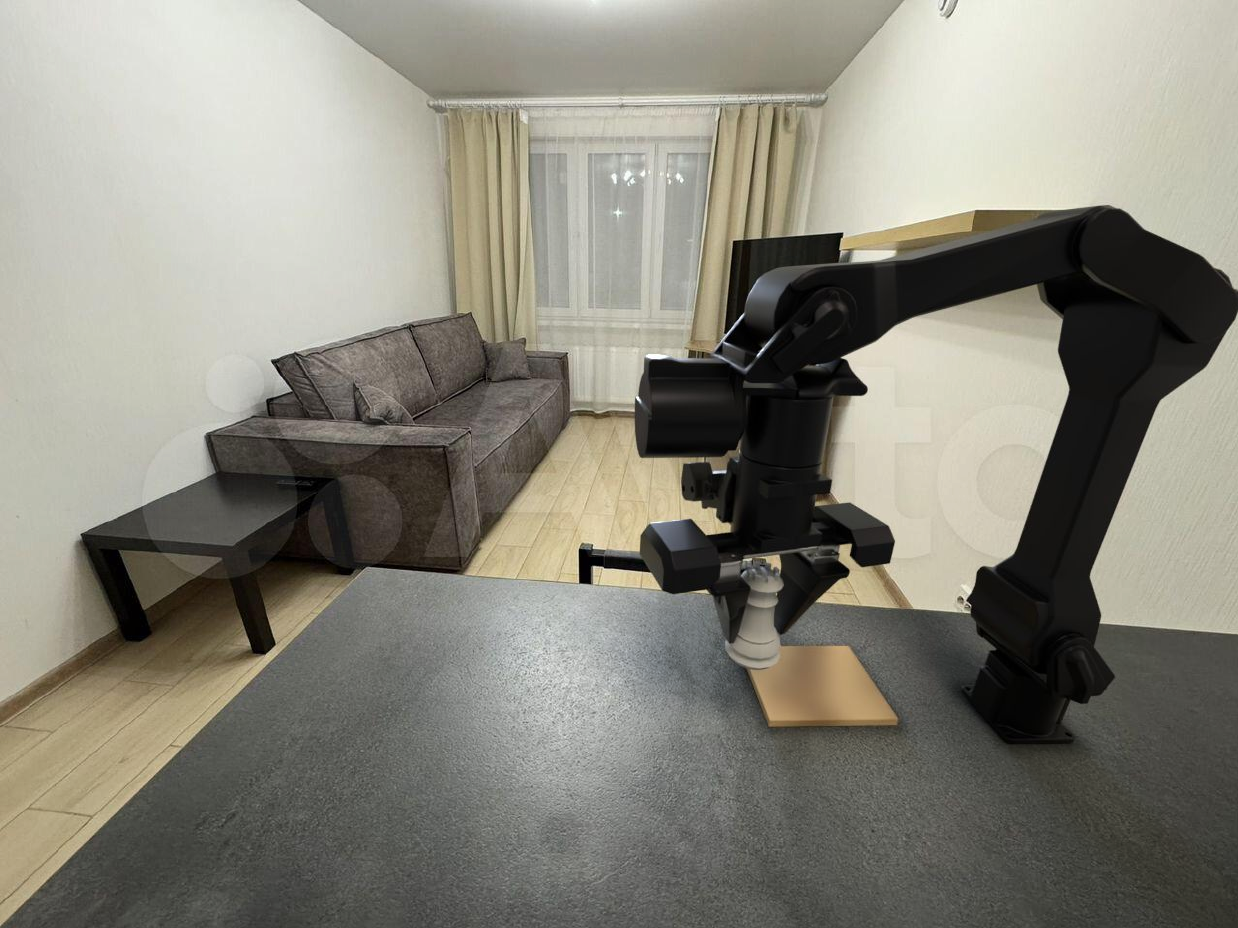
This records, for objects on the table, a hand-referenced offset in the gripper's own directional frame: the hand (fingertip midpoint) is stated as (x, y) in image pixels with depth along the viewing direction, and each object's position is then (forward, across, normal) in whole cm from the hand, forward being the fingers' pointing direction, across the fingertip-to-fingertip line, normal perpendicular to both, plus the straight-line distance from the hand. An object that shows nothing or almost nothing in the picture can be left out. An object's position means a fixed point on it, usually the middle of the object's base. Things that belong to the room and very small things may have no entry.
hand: (754, 635), depth 42 cm
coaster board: (+11, -10, -4) cm, 15 cm away
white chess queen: (+2, 0, 0) cm, 2 cm away
